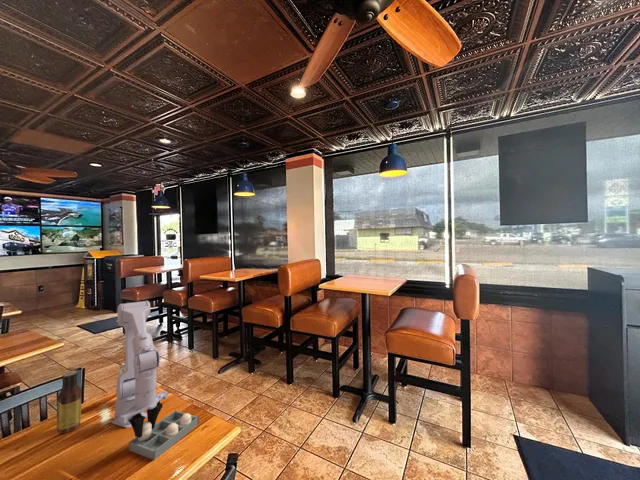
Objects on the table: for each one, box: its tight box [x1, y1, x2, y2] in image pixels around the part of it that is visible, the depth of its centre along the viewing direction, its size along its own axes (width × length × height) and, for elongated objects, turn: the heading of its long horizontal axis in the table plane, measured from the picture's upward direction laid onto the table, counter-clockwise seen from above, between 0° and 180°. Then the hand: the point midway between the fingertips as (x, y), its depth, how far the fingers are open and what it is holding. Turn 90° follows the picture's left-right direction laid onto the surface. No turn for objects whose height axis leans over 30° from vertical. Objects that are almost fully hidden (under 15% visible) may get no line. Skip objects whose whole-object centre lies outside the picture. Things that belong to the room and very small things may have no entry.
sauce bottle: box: [56, 370, 82, 434], centre depth 92 cm, size 6×6×20 cm
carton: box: [128, 410, 200, 461], centre depth 87 cm, size 12×17×3 cm
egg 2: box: [166, 423, 178, 437], centre depth 86 cm, size 4×4×5 cm
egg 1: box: [138, 420, 152, 441], centre depth 83 cm, size 4×4×5 cm
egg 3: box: [180, 412, 192, 426], centre depth 91 cm, size 4×4×5 cm
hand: (144, 432), depth 83 cm, fingers closed on egg 1, 4 cm apart
